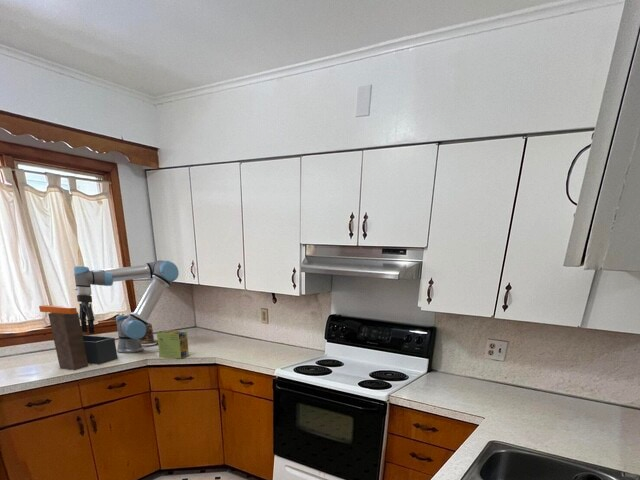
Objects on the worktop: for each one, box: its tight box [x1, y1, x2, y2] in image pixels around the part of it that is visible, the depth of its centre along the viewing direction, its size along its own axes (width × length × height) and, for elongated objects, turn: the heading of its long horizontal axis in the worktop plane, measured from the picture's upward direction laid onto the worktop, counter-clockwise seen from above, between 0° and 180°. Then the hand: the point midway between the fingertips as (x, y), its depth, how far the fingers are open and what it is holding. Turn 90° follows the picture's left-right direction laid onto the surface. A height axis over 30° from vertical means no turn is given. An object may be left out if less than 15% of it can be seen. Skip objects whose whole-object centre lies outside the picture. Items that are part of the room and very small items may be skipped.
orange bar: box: [38, 304, 78, 314], centre depth 230 cm, size 20×4×3 cm, turn 75°
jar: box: [139, 319, 155, 344], centre depth 308 cm, size 12×12×15 cm
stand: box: [47, 311, 89, 371], centre depth 236 cm, size 10×10×30 cm
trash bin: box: [82, 334, 119, 366], centre depth 255 cm, size 24×16×13 cm, turn 75°
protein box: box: [156, 329, 190, 359], centre depth 270 cm, size 10×15×16 cm
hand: (88, 332), depth 250 cm, fingers open, 13 cm apart
